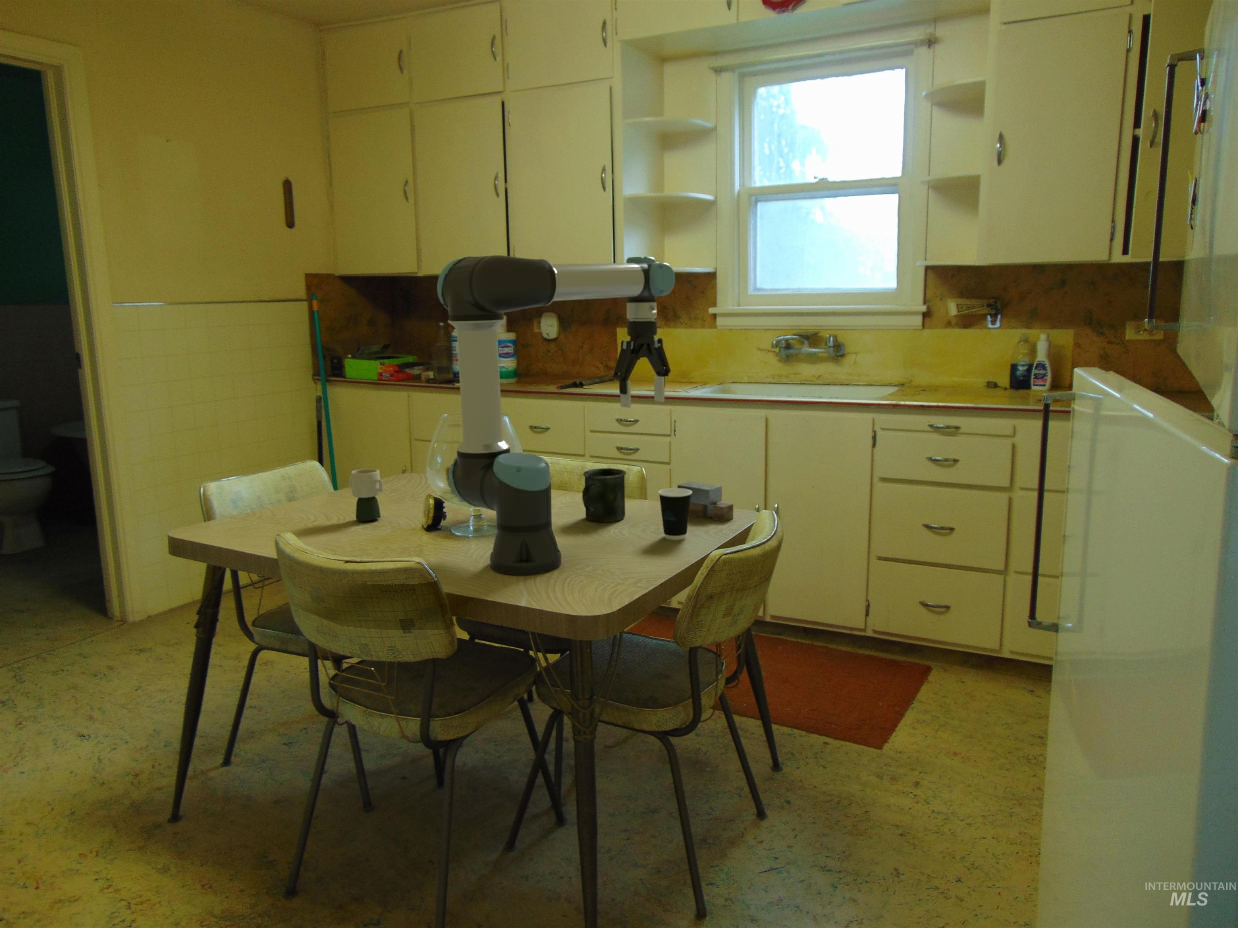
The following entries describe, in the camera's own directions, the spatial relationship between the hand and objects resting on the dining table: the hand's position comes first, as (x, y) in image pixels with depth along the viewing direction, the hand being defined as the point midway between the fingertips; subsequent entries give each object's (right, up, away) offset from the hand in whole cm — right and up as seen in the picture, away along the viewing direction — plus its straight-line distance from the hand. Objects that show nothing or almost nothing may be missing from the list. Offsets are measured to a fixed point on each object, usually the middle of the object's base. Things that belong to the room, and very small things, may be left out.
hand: (642, 404), depth 228 cm
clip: (+15, -28, +4) cm, 32 cm away
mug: (-10, -30, 0) cm, 31 cm away
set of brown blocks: (+15, -28, +4) cm, 32 cm away
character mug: (-71, -30, +4) cm, 77 cm away
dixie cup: (+7, -33, -17) cm, 37 cm away
